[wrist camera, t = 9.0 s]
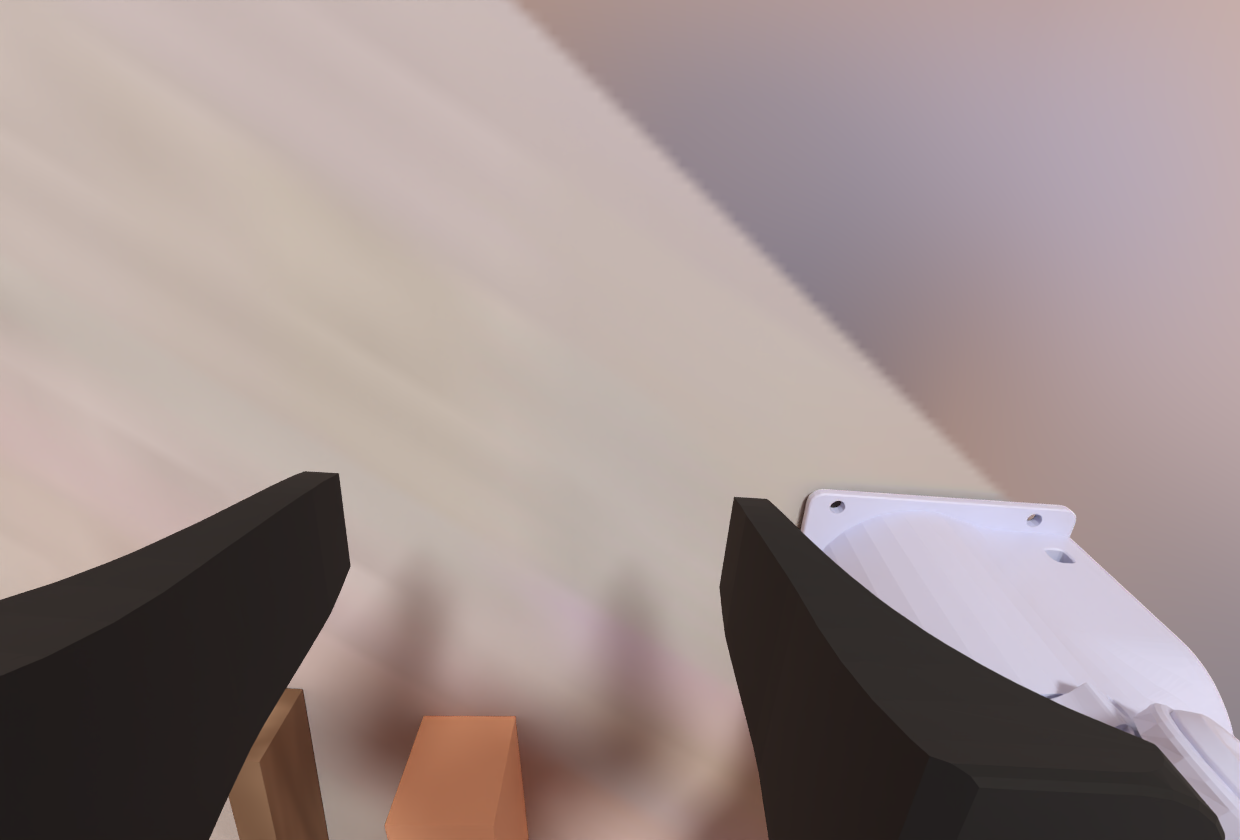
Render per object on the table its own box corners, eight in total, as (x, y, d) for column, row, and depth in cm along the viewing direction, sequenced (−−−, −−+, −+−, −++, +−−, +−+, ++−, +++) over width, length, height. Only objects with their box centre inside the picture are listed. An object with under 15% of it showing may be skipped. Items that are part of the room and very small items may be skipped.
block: (528, 835, 32) (511, 954, 27) (446, 834, 32) (415, 953, 27) (515, 713, 28) (493, 825, 24) (424, 713, 28) (384, 825, 24)
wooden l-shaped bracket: (595, 708, 28) (590, 783, 25) (582, 896, 33) (576, 978, 30) (267, 687, 28) (219, 759, 24) (305, 879, 33) (270, 959, 30)
